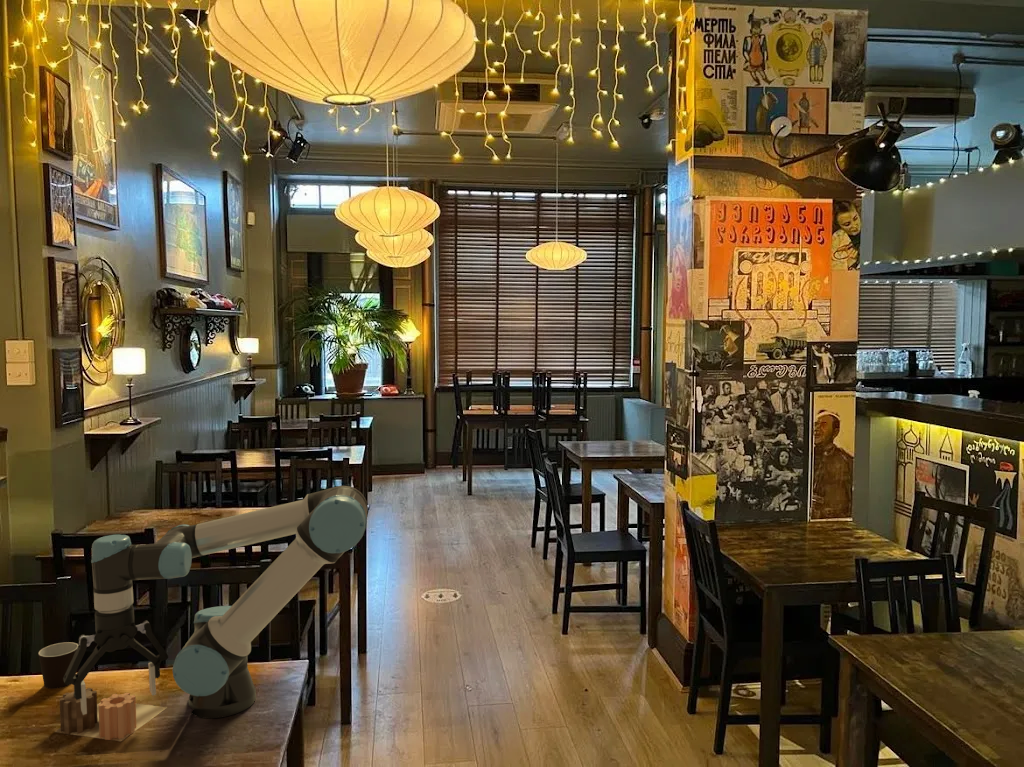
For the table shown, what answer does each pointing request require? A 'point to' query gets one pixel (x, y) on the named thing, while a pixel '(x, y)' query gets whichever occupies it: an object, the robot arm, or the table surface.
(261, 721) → the table surface
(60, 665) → the coffee mug
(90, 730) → the carrier
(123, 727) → the planet gear
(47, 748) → the table surface
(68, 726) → the pinned planet gear
